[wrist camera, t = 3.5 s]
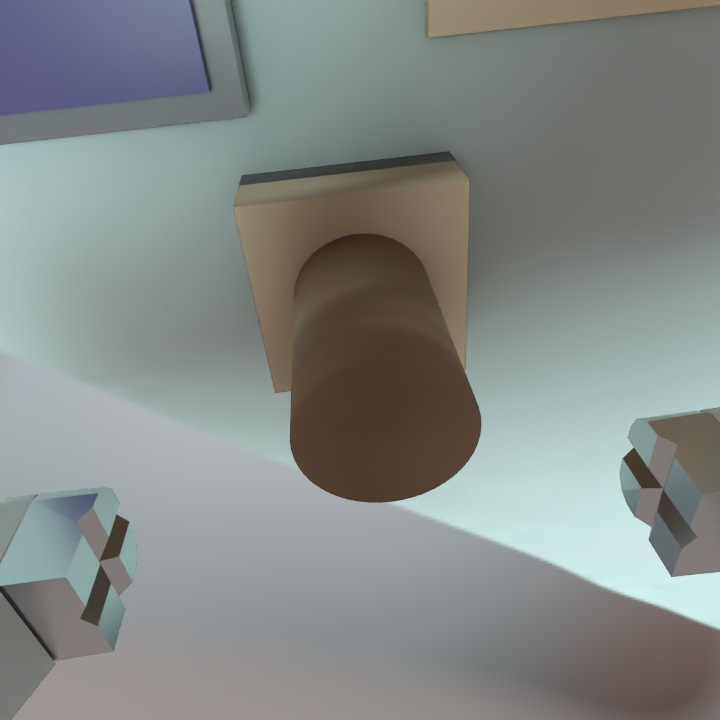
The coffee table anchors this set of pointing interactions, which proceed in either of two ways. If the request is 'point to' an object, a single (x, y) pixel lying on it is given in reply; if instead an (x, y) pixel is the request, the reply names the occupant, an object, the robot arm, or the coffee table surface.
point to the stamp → (366, 318)
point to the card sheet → (536, 12)
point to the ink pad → (116, 66)
